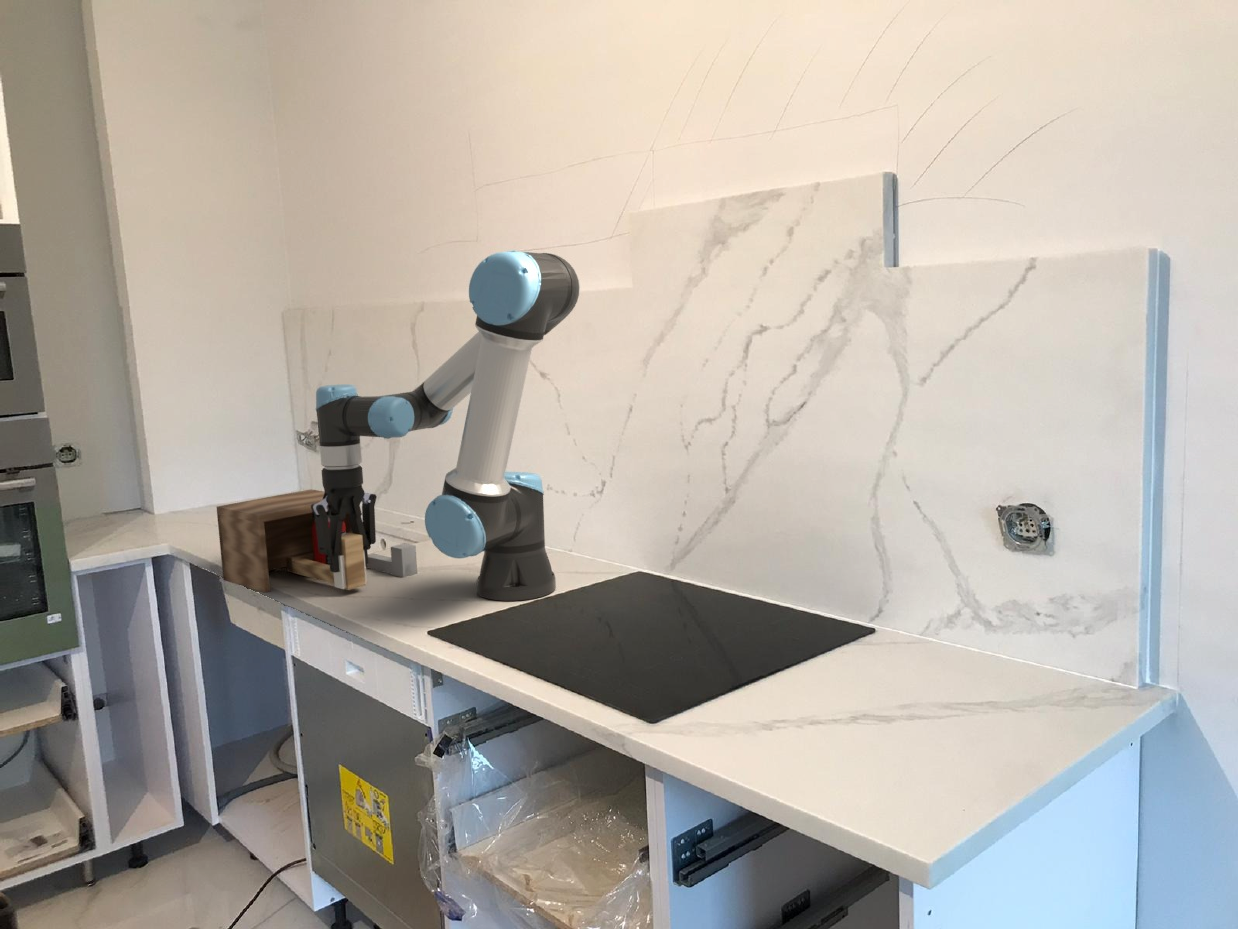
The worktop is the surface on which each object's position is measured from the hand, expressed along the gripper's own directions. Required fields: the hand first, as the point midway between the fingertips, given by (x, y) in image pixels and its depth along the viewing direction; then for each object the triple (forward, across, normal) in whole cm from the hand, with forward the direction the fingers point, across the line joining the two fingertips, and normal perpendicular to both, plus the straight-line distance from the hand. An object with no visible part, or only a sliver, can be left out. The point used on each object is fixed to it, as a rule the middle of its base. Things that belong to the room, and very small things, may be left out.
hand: (350, 584), depth 194 cm
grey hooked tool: (+2, -14, -7) cm, 16 cm away
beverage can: (+2, -6, -15) cm, 16 cm away
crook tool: (0, -3, -9) cm, 9 cm away
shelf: (+2, -1, -22) cm, 22 cm away
